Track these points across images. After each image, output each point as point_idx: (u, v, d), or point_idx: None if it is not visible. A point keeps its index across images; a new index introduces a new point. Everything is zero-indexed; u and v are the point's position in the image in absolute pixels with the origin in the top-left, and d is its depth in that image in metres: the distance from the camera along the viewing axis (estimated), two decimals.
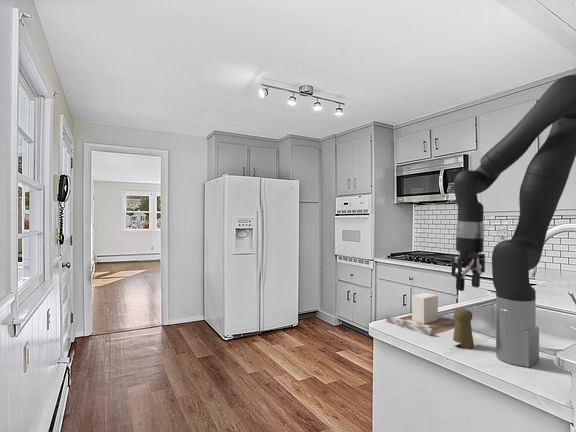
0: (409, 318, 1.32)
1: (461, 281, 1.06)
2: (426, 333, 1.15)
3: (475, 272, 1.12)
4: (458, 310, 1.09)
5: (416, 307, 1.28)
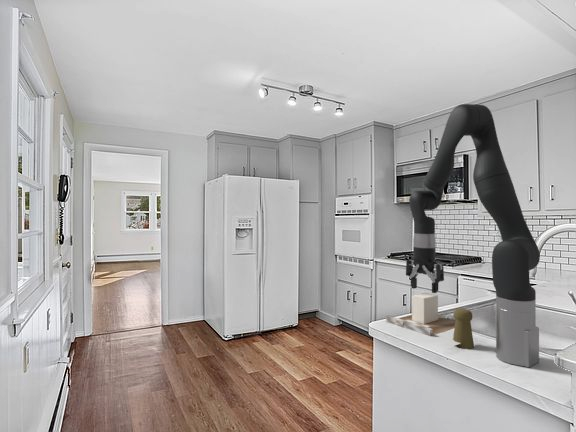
0: (409, 318, 1.32)
1: None
2: (426, 333, 1.15)
3: (414, 276, 1.33)
4: (458, 310, 1.09)
5: (416, 307, 1.28)
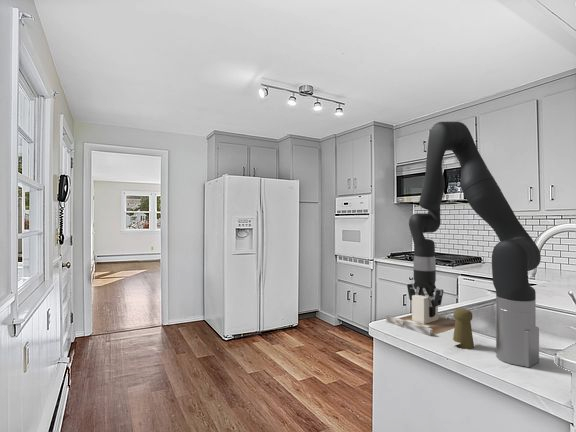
0: (409, 318, 1.32)
1: None
2: (426, 333, 1.15)
3: None
4: (458, 310, 1.09)
5: (416, 307, 1.28)
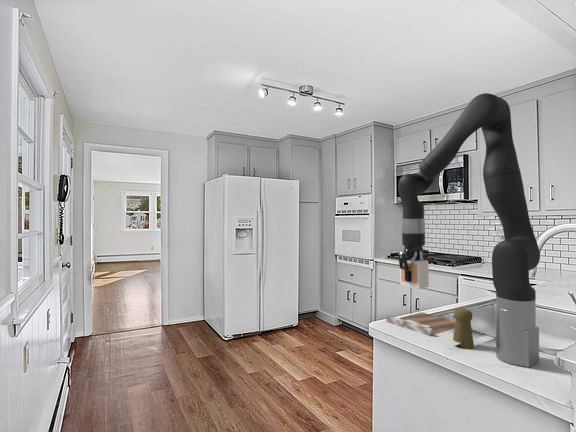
0: (409, 318, 1.32)
1: None
2: (426, 333, 1.15)
3: None
4: (458, 310, 1.09)
5: (423, 272, 1.21)
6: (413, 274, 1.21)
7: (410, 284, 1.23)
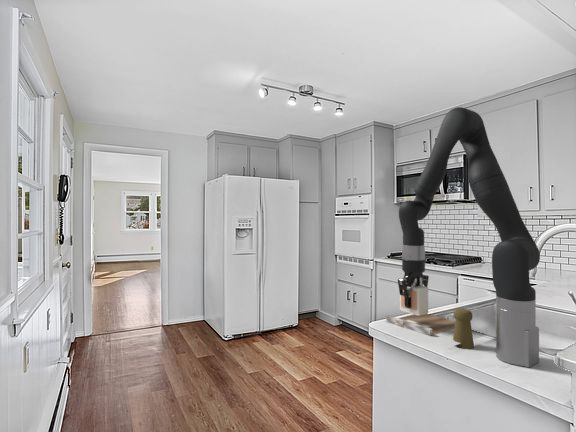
0: (409, 318, 1.32)
1: None
2: (426, 333, 1.15)
3: None
4: (458, 310, 1.09)
5: (422, 299, 1.21)
6: (413, 301, 1.22)
7: (410, 310, 1.23)
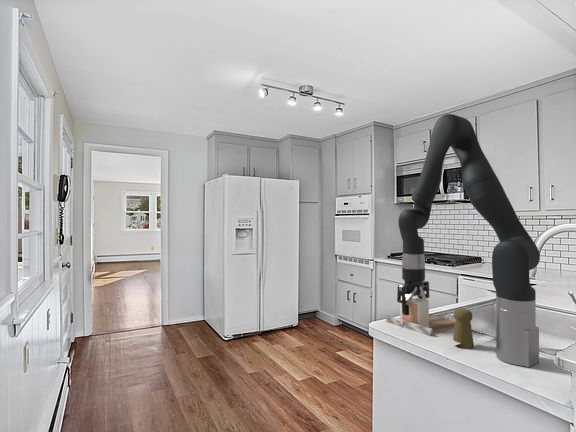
0: None
1: None
2: (426, 333, 1.15)
3: None
4: (458, 310, 1.09)
5: (423, 312, 1.21)
6: (413, 314, 1.21)
7: None
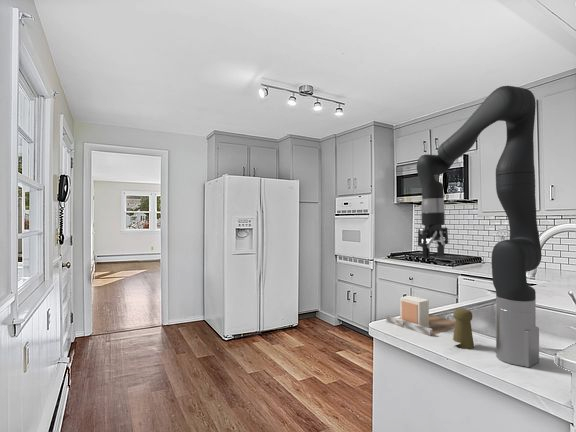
0: None
1: None
2: (426, 333, 1.15)
3: None
4: (458, 310, 1.09)
5: (423, 312, 1.21)
6: (413, 314, 1.21)
7: None
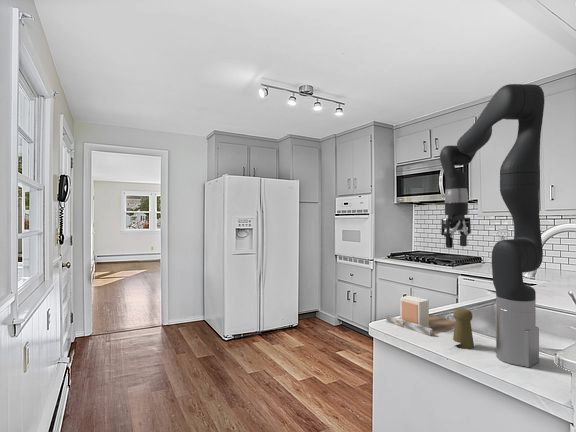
0: None
1: None
2: (426, 333, 1.15)
3: None
4: (458, 310, 1.09)
5: (423, 312, 1.21)
6: (413, 314, 1.21)
7: None
